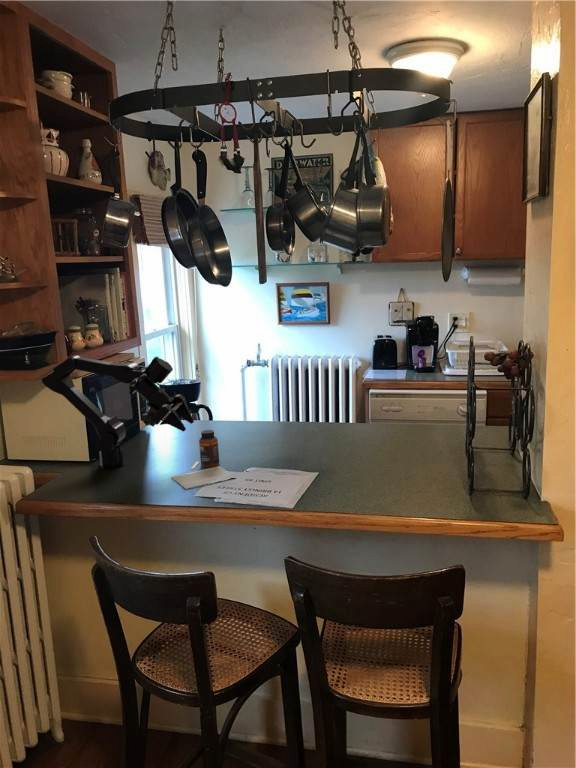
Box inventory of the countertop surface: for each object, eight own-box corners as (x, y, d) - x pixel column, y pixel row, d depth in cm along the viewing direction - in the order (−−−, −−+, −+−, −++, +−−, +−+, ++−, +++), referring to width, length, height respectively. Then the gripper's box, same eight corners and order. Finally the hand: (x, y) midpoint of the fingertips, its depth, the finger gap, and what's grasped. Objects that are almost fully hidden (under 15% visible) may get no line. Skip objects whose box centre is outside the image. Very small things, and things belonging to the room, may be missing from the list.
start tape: (190, 468, 196) (190, 468, 196) (196, 461, 203) (196, 461, 203) (193, 468, 196) (193, 468, 196) (199, 461, 202) (199, 461, 202)
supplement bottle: (221, 462, 201) (219, 428, 199) (217, 468, 195) (215, 433, 193) (203, 462, 202) (200, 428, 199) (198, 468, 196) (196, 434, 194)
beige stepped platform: (185, 489, 178) (185, 488, 178) (171, 478, 188) (171, 476, 188) (236, 478, 186) (235, 476, 186) (219, 467, 196) (219, 466, 196)
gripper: (146, 404, 207) (181, 435, 208) (126, 418, 189) (164, 452, 189) (167, 380, 204) (202, 412, 205) (148, 392, 186) (187, 427, 187)
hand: (189, 426), depth 197 cm, fingers open, 9 cm apart
